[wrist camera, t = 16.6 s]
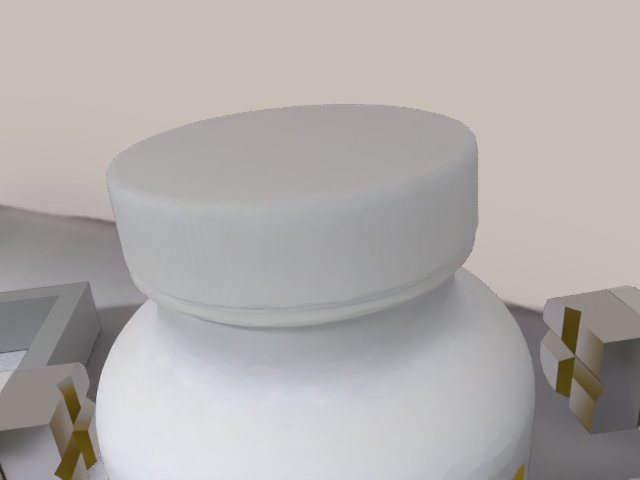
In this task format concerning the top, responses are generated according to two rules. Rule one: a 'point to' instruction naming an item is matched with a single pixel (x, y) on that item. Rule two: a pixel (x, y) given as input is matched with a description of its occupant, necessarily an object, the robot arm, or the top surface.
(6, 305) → the parts tray
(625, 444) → the top surface
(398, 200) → the pill bottle
